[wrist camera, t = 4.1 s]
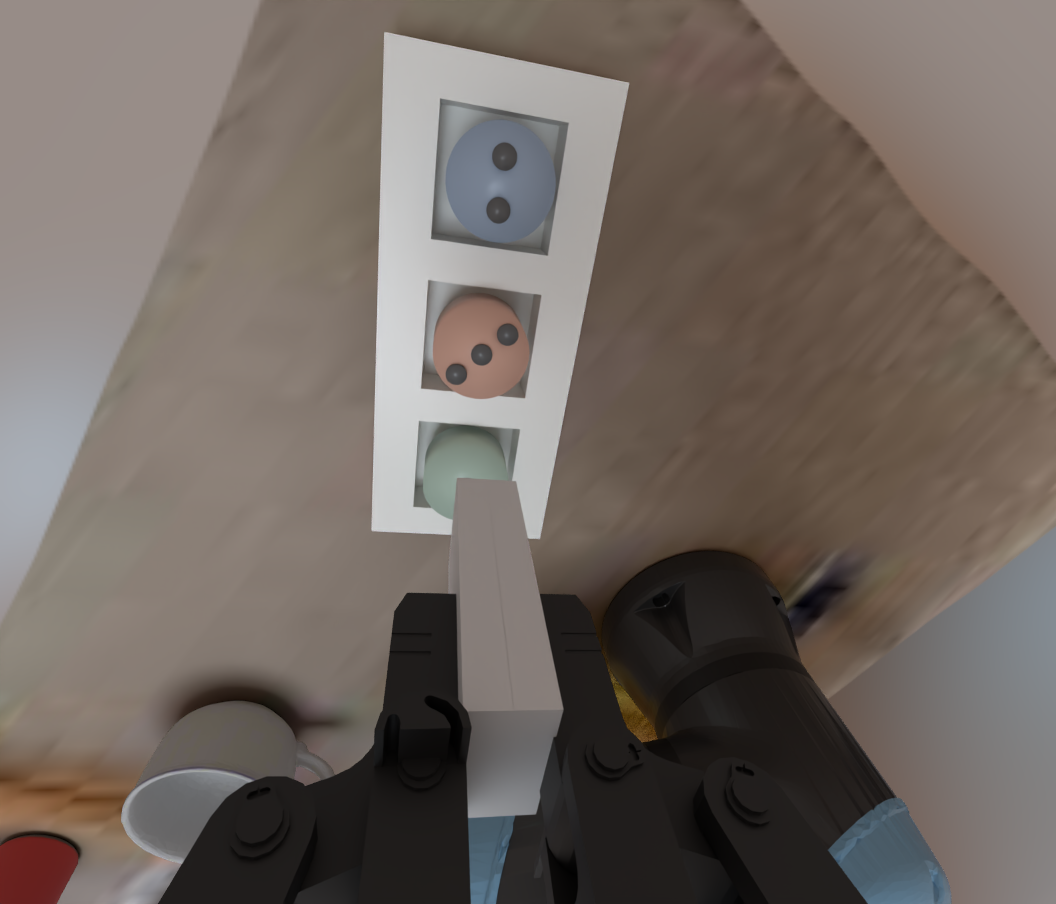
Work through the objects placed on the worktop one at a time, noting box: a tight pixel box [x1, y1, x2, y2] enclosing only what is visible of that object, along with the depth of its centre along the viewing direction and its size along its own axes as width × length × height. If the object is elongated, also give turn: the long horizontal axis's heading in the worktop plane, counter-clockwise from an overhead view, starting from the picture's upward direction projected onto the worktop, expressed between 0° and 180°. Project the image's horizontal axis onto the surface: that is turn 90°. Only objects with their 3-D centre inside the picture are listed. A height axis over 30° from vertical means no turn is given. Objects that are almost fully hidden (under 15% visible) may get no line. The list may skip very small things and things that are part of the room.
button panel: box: [372, 32, 629, 539], centre depth 31 cm, size 11×26×3 cm, turn 171°
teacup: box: [121, 701, 335, 863], centre depth 43 cm, size 14×11×8 cm
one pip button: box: [423, 425, 509, 520], centre depth 33 cm, size 5×5×3 cm
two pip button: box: [445, 120, 556, 243], centre depth 26 cm, size 5×5×3 cm
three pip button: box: [433, 293, 529, 399], centre depth 29 cm, size 5×5×3 cm
